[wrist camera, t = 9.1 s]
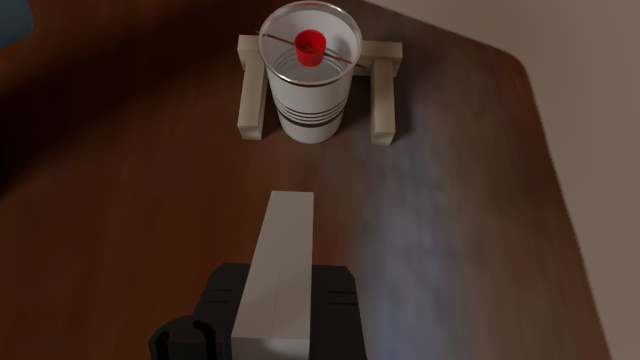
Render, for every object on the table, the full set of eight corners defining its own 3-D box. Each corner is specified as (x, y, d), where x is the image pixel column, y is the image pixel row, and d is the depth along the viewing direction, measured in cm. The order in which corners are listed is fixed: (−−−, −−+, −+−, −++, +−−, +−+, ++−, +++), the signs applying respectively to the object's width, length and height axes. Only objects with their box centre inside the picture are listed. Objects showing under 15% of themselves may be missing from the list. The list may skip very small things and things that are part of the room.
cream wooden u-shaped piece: (233, 138, 38) (226, 122, 35) (245, 56, 42) (239, 34, 39) (398, 145, 39) (406, 130, 35) (394, 63, 42) (401, 42, 39)
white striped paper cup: (254, 132, 39) (230, 60, 27) (284, 73, 42) (274, -15, 30) (339, 163, 38) (351, 101, 26) (364, 100, 40) (385, 20, 29)
